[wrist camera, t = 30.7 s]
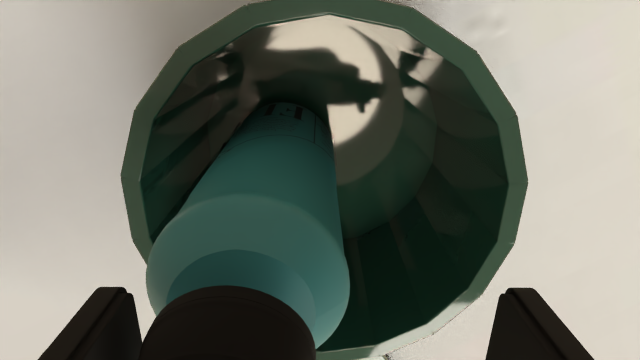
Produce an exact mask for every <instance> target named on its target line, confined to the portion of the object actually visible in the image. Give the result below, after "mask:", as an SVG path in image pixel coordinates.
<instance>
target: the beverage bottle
mask: <svg viewBox="0 0 640 360" xmlns="http://www.w3.org/2000/svg"><path fill="white" fill-rule="evenodd" d="M282 101H283V100H282ZM272 102H273V101H272ZM291 102H292V101H291ZM295 103H296V102H295ZM264 104H265V103H264ZM301 105H302V104H301ZM261 106H262V105H261ZM259 107H260V106H259ZM311 110H312V109H311ZM314 112H315V111H314ZM248 113H249V112H248ZM320 117H321V116H320ZM243 118H244V117H243ZM240 122H241V121H240ZM240 122H239V123H238V125H237V126H236V128H235V129H237V128H238V127H239V126H240V127H239V128H238V129H237V130H236V132H235V134H234V133H233V132H232V133H233V134H234V135H233V134H232V135H233V136H232V138H231V139H230V140H229V142H228V143H227V142H226V143H227V144H226V143H225V142H224V143H223V145H222V147H221V149H223V150H222V151H221V153H220V154H219V155H218V157H217V158H216V156H215V158H216V159H215V160H213V161H214V162H213V163H212V165H211V166H210V168H209V169H208V170H207V172H206V173H205V174H204V176H203V177H201V180H200V181H199V180H197V181H199V183H197V182H196V183H197V185H196V187H195V188H194V190H193V191H192V192H191V194H190V196H189V195H188V196H189V197H188V196H187V197H188V198H187V197H186V196H185V197H186V198H187V200H186V199H185V198H184V197H183V198H184V199H185V200H186V202H185V203H184V202H183V203H184V204H182V208H181V209H180V211H179V212H178V214H177V215H175V217H174V218H173V219H172V220H171V221H170V222H169V223H168V224H167V225H166V226H165V228H164V229H163V230H162V232H161V233H160V235H159V236H158V237H157V239H156V241H155V243H154V245H153V247H152V249H151V252H150V255H149V258H148V263H147V269H146V287H147V293H148V297H149V300H150V303H151V306H152V308H153V310H154V312H155V314H156V316H157V317H156V318H155V320H154V322H153V323H152V325H151V327H150V329H149V331H148V333H147V335H146V337H145V339H144V341H143V343H142V347H141V350H140V355H139V357H138V360H316V349H317V348H318V347H319V346H320V345H322V344H323V343H324V342H325V341H326V340H327V339H328V338H329V337H330V336H331V335H332V334H333V332H334V331H335V330H336V328H337V327H338V325H339V323H340V322H341V320H342V318H343V316H344V313H345V311H346V308H347V305H348V300H349V295H350V279H349V269H348V265H347V261H346V258H345V256H344V248H343V239H342V231H341V223H340V215H339V206H338V198H337V189H336V185H337V182H336V171H335V161H334V150H333V146H335V144H334V145H333V143H332V140H333V139H332V138H334V137H332V136H331V135H333V134H331V131H330V129H329V131H328V127H329V126H327V127H326V126H325V123H324V121H323V120H320V118H319V117H317V116H316V112H315V114H314V113H313V112H311V111H310V110H308V109H307V108H306V107H302V106H299V105H296V104H292V103H284V102H282V103H281V102H278V103H277V102H276V103H273V104H271V103H269V104H268V105H265V106H263V107H260V108H258V109H257V110H254V112H253V110H252V112H251V113H250V114H249V115H248V116H247V117H246V118H244V121H243V123H242V124H241V125H240ZM235 129H234V130H235ZM329 132H330V133H329ZM229 138H230V137H229ZM227 141H228V140H227ZM221 149H220V150H221ZM335 156H336V153H335ZM213 158H214V157H213ZM210 164H211V163H210ZM210 164H209V165H210ZM209 165H208V166H209ZM336 165H337V162H336ZM208 166H207V167H208ZM204 169H205V168H204ZM203 171H204V170H203ZM201 174H203V173H202V172H201ZM201 174H200V176H201ZM199 178H200V177H199ZM197 179H198V178H197ZM196 183H195V184H196ZM195 184H194V185H195ZM192 186H193V185H192ZM192 186H191V187H192ZM189 188H190V187H189ZM192 188H193V187H192ZM187 191H188V193H189V192H190V189H189V190H187ZM186 195H187V193H186ZM185 200H184V201H185ZM180 204H181V203H180ZM179 206H180V205H179ZM176 213H177V212H176Z"/></svg>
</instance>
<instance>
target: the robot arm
mask: <svg viewBox="0 0 640 360" xmlns="http://www.w3.org/2000/svg"><path fill="white" fill-rule="evenodd" d="M141 347H142V339H141V334H140V328H139V323H138V318H137V313H136V307H135V302H134V297H133V295H132V294H131V293H127V291H126V289H125V288H123V287H99V288H97V289H96V290H95V291H94V293H93V294H92V295H91V296H90V297H89V299H88V300H87V301H86V302H85V303H84V305H83V306H82V307H81V308H80V310H79V311H78V312H77V313H76V314H75V316H74V317H73V318H72V319H71V320H70V322H69V323H68V324H67V325H66V327H65V328H64V329H63V330H62V331H61V333H60V334H59V335H58V336H57V337H56V339H55V340H54V341H53V342H52V344H51V345H50V346H49V347H48V348H47V349H46V350H45V352H44V353H43V354H42V355H41V356H40V358H39V359H38V360H138V357H139V355H140V350H141ZM486 360H594V359H593V358H592V356H591V355H590V354H589V353H588V352H587V351H586V349H585V348H584V347H583V346H582V345H581V343H580V342H579V341H578V340H577V339H576V337H575V336H574V335H573V334H572V333H571V332H570V330H569V329H568V328H567V327H566V326H565V324H564V323H563V322H562V321H561V320H560V319H559V317H558V316H557V315H556V314H555V313H554V311H553V310H552V309H551V308H550V307H549V305H548V304H547V303H546V302H545V301H544V300H543V298H542V297H541V296H540V295H539V294H538V292H537V291H536V290H534V289H533V288H508V289H507V290H506V293H505V294H501V295H500V297H499V300H498V305H497V309H496V314H495V319H494V323H493V328H492V332H491V337H490V341H489V346H488V351H487V355H486Z"/></svg>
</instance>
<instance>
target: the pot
mask: <svg viewBox="0 0 640 360" xmlns="http://www.w3.org/2000/svg"><path fill="white" fill-rule="evenodd" d="M282 100H283V101H282ZM272 101H273V102H272ZM291 101H292V102H291ZM276 102H277V103H278V102H281V103H282V102H284V103H292V104H296V105H299V106H302V107H306V108H307V109H308V110H310V111H311V112H313V113H314V114H315V112H316V116H317V117H319V118H320V120H323V121H324V123H325V126H326V127H327V126H329V127H328V131H329V129H330V131H331V134H333V135H331V136H332V137H334V138H332V139H333V140H332V143H333V145H334V144H335V146H333V150H334V161H335V171H336V182H337V185H336V189H337V198H338V206H339V215H340V223H341V231H342V239H343V248H344V256H345V258H346V261H347V265H348V269H349V279H350V295H349V300H348V305H347V308H346V311H345V313H344V316H343V318H342V320H341V322H340V323H339V325H338V327H337V328H336V330H335V331H334V332H333V334H332V335H331V336H330V337H329V338H328V339H327V340H326V341H325V342H324V343H323V344H322V345H320V346H319V347H318V348H317V349H316V360H358V359H366V358H374V357H379V356H383V355H385V354H388V353H390V352H393V351H395V350H397V349H400V348H402V347H404V346H407V345H409V344H412V343H414V342H416V341H419V340H421V339H424V338H426V337H428V336H431V335H433V334H434V333H436V332H437V331H438V330H440V329H441V328H442V327H443V326H445V325H446V324H447V323H448V322H449V321H451V320H452V319H453V318H454V317H456V316H457V315H458V314H459V313H461V312H462V311H463V310H464V309H465V308H467V307H468V306H469V305H470V304H472V303H473V302H474V301H475V300H477V299H478V298H479V297H480V295H482V294H483V292H484V291H485V289H486V288H487V286H488V285H489V283H490V281H491V280H492V278H493V277H494V275H495V274H496V272H497V271H498V269H499V267H500V266H501V264H502V263H503V261H504V260H505V258H506V257H507V255H508V253H509V252H510V250H511V249H512V247H513V246H514V243H515V240H516V235H517V231H518V226H519V222H520V217H521V213H522V208H523V204H524V200H525V195H526V191H527V186H528V182H527V181H528V177H527V171H526V165H525V159H524V153H523V147H522V141H521V135H520V129H519V123H518V117H517V115H516V112H515V110H514V109H513V107H512V106H511V104H510V102H509V101H508V99H507V98H506V96H505V95H504V93H503V91H502V90H501V88H500V87H499V85H498V84H497V82H496V80H495V79H494V77H493V76H492V74H491V73H490V71H489V69H488V68H487V66H486V65H485V63H484V62H483V60H482V58H481V57H480V55H479V54H478V53H477V51H476V50H474V49H473V48H471V47H470V46H468V45H467V44H465V43H464V42H462V41H461V40H460V39H458V38H457V37H455V36H454V35H452V34H451V33H449V32H448V31H446V30H445V29H444V28H442V27H441V26H439V25H438V24H436V23H435V22H433V21H432V20H430V19H429V18H428V17H426V16H425V15H423V14H422V13H420V12H419V11H417V10H416V9H414V8H411V7H410V6H406V5H401V4H396V3H392V2H387V1H382V0H266V1H260V2H255V3H249V4H247V5H243V6H242V7H240V8H239V9H237V10H236V11H234V12H232V13H231V14H229V15H228V16H226V17H224V18H223V19H221V20H220V21H218V22H217V23H215V24H213V25H212V26H210V27H209V28H207V29H206V30H204V31H202V32H201V33H199V34H198V35H196V36H194V37H193V38H191V39H190V40H188V41H187V42H185V43H183V44H182V45H180V46H179V47H178V49H176V50H175V52H174V53H173V54H172V56H171V57H170V59H169V60H168V62H167V63H166V65H165V66H164V67H163V69H162V70H161V72H160V73H159V75H158V76H157V77H156V79H155V80H154V82H153V83H152V85H151V86H150V88H149V89H148V90H147V92H146V93H145V95H144V96H143V98H142V99H141V100H140V102H139V103H138V105H137V106H136V109H135V110H134V113H133V118H132V123H131V128H130V132H129V137H128V142H127V147H126V151H125V156H124V161H123V166H122V170H121V182H122V187H123V193H124V198H125V204H126V209H127V215H128V220H129V226H130V231H131V237H132V239H133V242H134V244H135V246H136V247H137V249H138V251H139V253H140V254H141V256H142V258H143V259H144V261H145V263H146V264H147V263H148V258H149V255H150V252H151V249H152V247H153V245H154V243H155V241H156V239H157V237H158V236H159V235H160V233H161V232H162V230H163V229H164V228H165V226H166V225H167V224H168V223H169V222H170V221H171V220H172V219H173V218H174V217H175V215H177V214H178V212H179V211H180V209H181V208H182V204H184V203H185V202H186V200H187V198H188V197H189V196H190V194H191V192H192V191H193V190H194V188H195V187H196V185H197V183H199V181H200V180H201V177H203V176H204V174H205V173H206V172H207V170H208V169H209V168H210V166H211V165H212V163H213V162H214V161H213V160H215V159H216V158H217V157H218V155H219V154H220V153H221V151H222V150H223V149H221V147H222V145H223V143H224V142H225V143H226V142H227V143H228V142H229V140H230V139H231V138H232V136H233V135H234V134H235V132H236V130H237V129H238V128H239V127H240V126H239V127H238V128H237V129H235V128H236V126H237V125H238V123H239V122H240V121H241V122H240V125H241V124H242V123H243V121H244V118H246V117H247V116H248V115H249V114H250V113H251V112H252V110H253V112H254V110H257V109H258V108H260V107H263V106H265V105H268V104H269V103H271V104H273V103H276ZM295 102H296V103H295ZM264 103H265V104H264ZM301 104H302V105H301ZM261 105H262V106H261ZM259 106H260V107H259ZM311 109H312V110H311ZM314 111H315V112H314ZM248 112H249V113H248ZM320 116H321V117H320ZM243 117H244V118H243ZM234 129H235V130H234ZM232 132H233V133H234V134H233V133H232ZM329 133H330V132H329ZM232 134H233V135H232ZM229 137H230V138H229ZM227 140H228V141H227ZM227 143H226V144H227ZM220 149H221V150H220ZM335 153H336V156H335ZM215 156H216V158H215ZM213 157H214V158H213ZM336 162H337V165H336ZM210 163H211V164H210ZM209 164H210V165H209ZM208 165H209V166H208ZM207 166H208V167H207ZM204 168H205V169H204ZM203 170H204V171H203ZM201 172H202V173H203V174H201ZM200 174H201V176H200ZM199 177H200V178H199ZM197 178H198V179H197ZM197 180H199V181H197ZM196 182H197V183H196ZM195 183H196V184H195ZM194 184H195V185H194ZM192 185H193V186H192ZM191 186H192V187H193V188H192V187H191ZM189 187H190V188H189ZM189 189H190V192H189V193H188V191H187V190H189ZM186 193H187V195H186ZM188 195H189V196H188ZM185 196H186V197H187V196H188V197H187V198H186V197H185ZM183 197H184V198H185V199H186V200H185V199H184V198H183ZM184 200H185V201H184ZM183 202H184V203H183ZM180 203H181V204H180ZM179 205H180V206H179ZM176 212H177V213H176Z"/></svg>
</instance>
